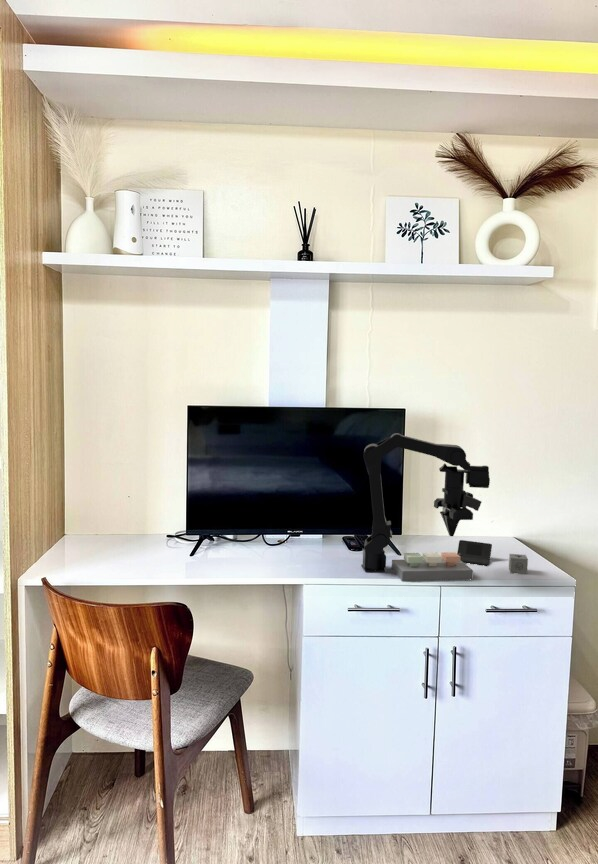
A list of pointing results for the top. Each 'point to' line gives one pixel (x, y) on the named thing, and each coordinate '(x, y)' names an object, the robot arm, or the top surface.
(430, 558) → the cream cube
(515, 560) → the dice cube
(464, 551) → the handheld gaming console
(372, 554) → the robot arm
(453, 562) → the peach cube
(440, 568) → the gray rectangular slab
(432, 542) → the top surface
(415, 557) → the pale green cube
